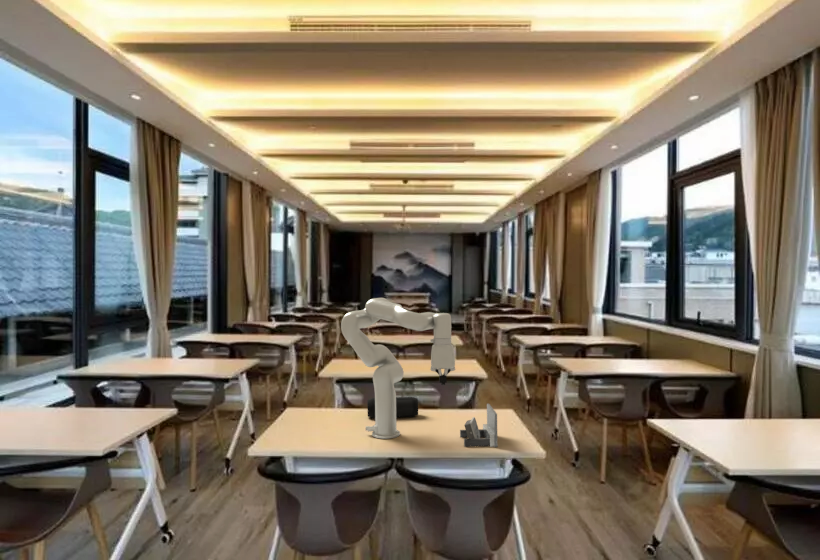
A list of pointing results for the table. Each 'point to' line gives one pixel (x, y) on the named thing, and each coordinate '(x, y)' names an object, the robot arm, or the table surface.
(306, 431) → the table surface
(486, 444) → the rail mount
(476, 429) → the electrical switch
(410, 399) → the portable speaker
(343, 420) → the table surface
